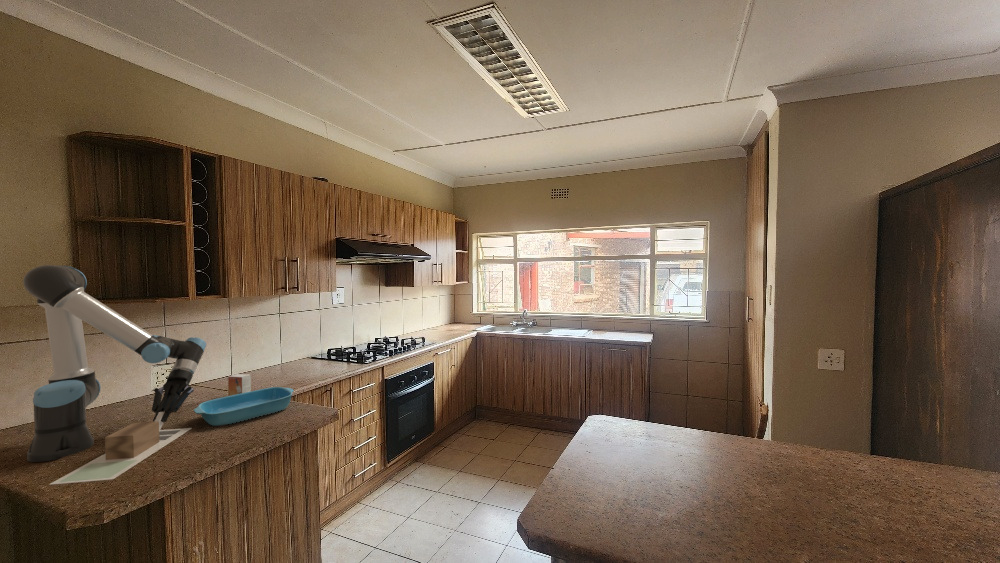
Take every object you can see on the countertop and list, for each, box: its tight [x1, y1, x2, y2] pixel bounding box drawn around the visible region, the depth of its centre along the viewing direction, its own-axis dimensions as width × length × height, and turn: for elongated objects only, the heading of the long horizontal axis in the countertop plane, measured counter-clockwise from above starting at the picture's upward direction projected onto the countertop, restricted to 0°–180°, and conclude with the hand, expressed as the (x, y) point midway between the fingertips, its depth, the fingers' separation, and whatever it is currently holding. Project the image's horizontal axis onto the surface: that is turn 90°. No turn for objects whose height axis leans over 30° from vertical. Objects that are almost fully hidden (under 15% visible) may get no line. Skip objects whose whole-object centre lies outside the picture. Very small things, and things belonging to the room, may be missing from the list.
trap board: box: [48, 427, 193, 487], centre depth 130 cm, size 16×38×1 cm, turn 10°
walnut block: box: [104, 421, 159, 460], centre depth 131 cm, size 8×12×8 cm, turn 10°
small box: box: [227, 373, 252, 396], centre depth 191 cm, size 8×6×10 cm
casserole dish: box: [193, 386, 294, 427], centre depth 167 cm, size 37×22×7 cm, turn 139°
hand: (154, 430), depth 140 cm, fingers closed
